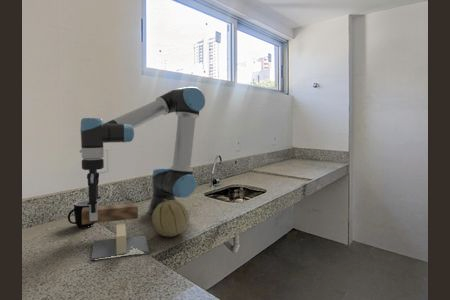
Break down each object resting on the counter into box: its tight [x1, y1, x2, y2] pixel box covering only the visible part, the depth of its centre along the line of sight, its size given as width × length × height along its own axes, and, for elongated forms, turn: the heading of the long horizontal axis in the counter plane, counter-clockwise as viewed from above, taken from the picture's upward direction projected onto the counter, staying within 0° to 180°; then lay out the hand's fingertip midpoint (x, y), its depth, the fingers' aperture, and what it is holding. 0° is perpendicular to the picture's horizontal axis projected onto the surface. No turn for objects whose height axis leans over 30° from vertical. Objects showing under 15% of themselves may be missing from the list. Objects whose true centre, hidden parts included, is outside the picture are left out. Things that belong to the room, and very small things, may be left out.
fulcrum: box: [90, 222, 150, 261], centre depth 95 cm, size 18×14×7 cm
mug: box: [67, 199, 95, 228], centre depth 114 cm, size 12×9×10 cm
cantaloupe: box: [151, 199, 190, 238], centre depth 108 cm, size 15×15×15 cm
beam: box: [82, 202, 139, 224], centre depth 105 cm, size 20×5×5 cm, turn 113°
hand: (94, 217), depth 103 cm, fingers closed on beam, 5 cm apart
